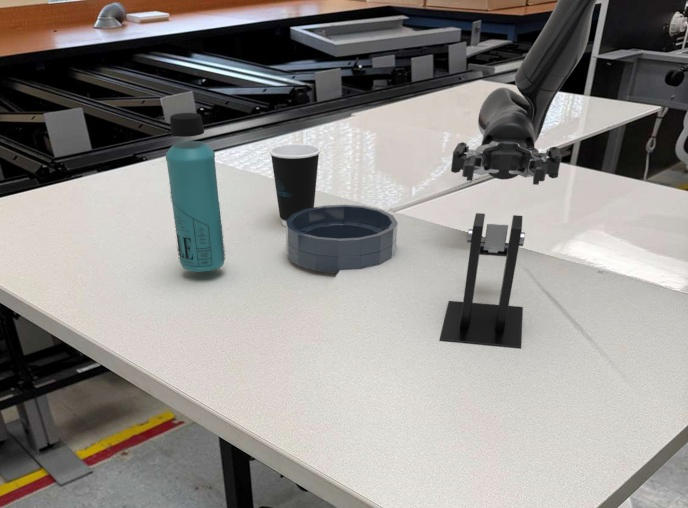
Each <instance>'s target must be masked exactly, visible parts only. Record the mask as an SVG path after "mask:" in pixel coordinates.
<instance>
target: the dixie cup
mask: <svg viewBox="0 0 688 508" xmlns="http://www.w3.org/2000/svg"><path fill="white" fill-rule="evenodd" d="M268 152H269V153H268V154H269V155H270V157H271V164H272V172H273V178H274V179H273V180H274V185H275V186H274V187H275V193H276V200H277V206H278V214H279V218H280V220H281V225H282V226H283V227H285V228H286V220H287V219H288V218H289V217H290V216H291V215H292V214H294V213H297V212H299V211H302V210H304V209H308V208H314V207H315V202H316V201H315V199H316V189H317V178H318V169H319V168H318V167H319V155H320V154H321V152H322V150H321V148H320V146H317V145H314V144H308V143H287V144H286V143H285V144H279V145H276V146H273V147H270V149H269V151H268Z"/></svg>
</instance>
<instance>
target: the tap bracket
mask: <svg viewBox="0 0 688 508" xmlns="http://www.w3.org/2000/svg"><path fill="white" fill-rule="evenodd" d="M485 218H486V213H482V212H480V213H479V212H476V213H475V215H474V221H473V224H472V225H473V226H472V228H468V230H467V237H466V243H468V244H470V248H469V254H468V255H469V256H468V263H467V270H466V278H465V286H464V293H463V299H462V300H463V301H456V300H448V301H447V306H446V310H445V314H444V319H443V322H442V327H441V331H440V336H439V342H447V343H457V344H466V345H467V344H468V345H477V346H486V347H487V346H488V347H499V348H508V349H509V348H510V349H522V341H523V340H522V339H523V338H522V337H523V318H524V317H523V315H524V307H523V306H517V305H510V301H511V300H510V299H511V294H512V288H513V283H514V278H515V277H514V276H515V271H516V265H517V259H518V254H519V248H520V247H523V246H524V243H525V238H526V232H524V231H522V230H523V215H518V214H517V215H516V214H515V215H512V220H511V226H510V232H509V238H508V243H509V244H508V250H507V256H506V257H505V263H504V269H503V273H502V280H501V287H500V293H499V298H498V304H494V303H493V304H492V303H483V302H482V303H481V302H480V303H479V302H474V296H475V289H476V282H477V275H478V267H479V260H480V255H479V254H480V247H481V241H482V238H483V233H484V224H485Z"/></svg>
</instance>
